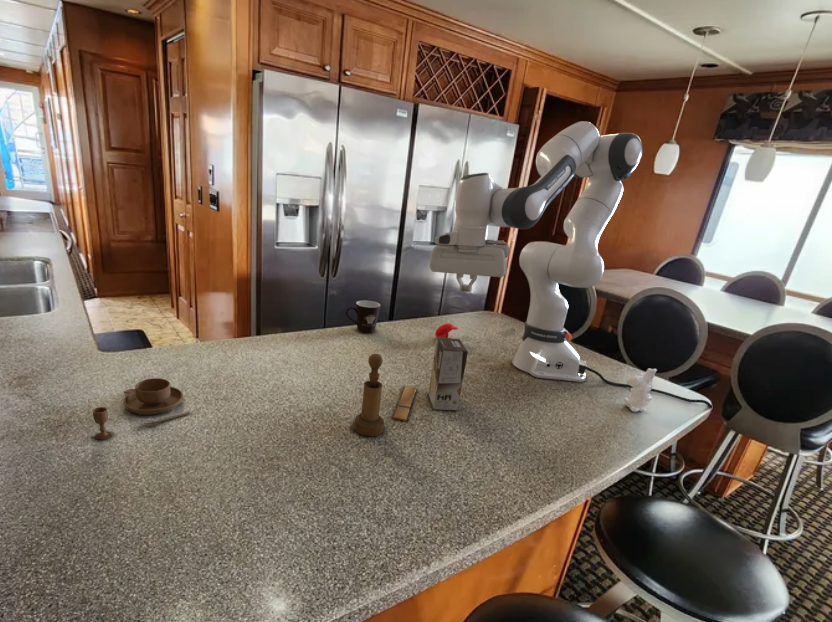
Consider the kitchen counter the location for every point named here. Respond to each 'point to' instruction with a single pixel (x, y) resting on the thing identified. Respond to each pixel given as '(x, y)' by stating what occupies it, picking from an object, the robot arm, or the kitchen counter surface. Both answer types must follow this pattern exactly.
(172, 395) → the place setting
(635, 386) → the white animal figurine
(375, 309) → the coffee mug
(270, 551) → the kitchen counter surface
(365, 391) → the mortar and pestle
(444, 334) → the cap
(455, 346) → the coffee box
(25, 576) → the kitchen counter surface
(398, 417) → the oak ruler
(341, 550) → the kitchen counter surface
